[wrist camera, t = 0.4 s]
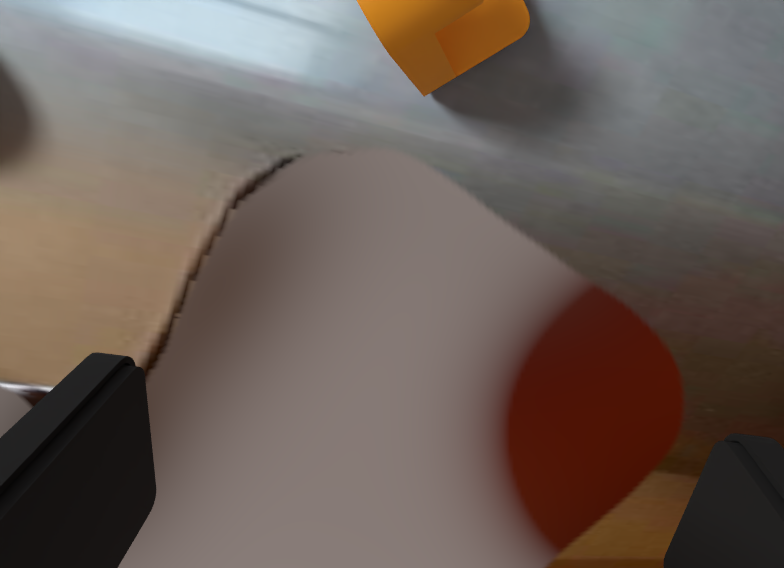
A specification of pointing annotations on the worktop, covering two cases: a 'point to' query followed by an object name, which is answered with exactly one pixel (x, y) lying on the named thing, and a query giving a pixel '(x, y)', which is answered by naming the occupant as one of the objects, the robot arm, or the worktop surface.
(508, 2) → the bracket
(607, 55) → the worktop surface
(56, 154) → the worktop surface
